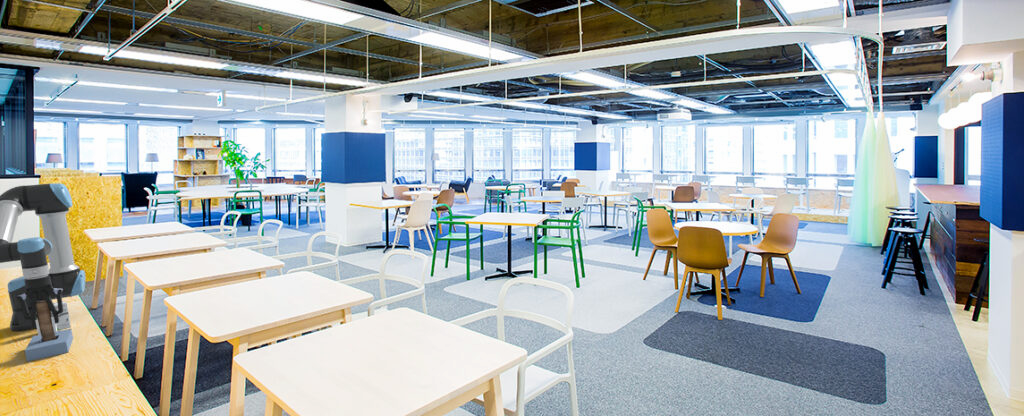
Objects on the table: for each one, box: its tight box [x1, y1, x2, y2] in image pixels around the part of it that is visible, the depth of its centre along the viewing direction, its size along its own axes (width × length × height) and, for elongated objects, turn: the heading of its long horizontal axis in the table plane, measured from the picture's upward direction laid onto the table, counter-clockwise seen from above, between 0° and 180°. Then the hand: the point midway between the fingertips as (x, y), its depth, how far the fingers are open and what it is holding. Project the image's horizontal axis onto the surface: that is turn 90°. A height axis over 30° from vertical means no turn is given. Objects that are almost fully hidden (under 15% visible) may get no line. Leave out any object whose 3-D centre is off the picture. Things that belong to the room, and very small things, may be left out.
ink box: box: [51, 300, 72, 331], centre depth 224 cm, size 9×5×12 cm, turn 147°
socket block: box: [24, 328, 74, 362], centre depth 202 cm, size 18×12×4 cm, turn 37°
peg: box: [36, 301, 56, 342], centre depth 201 cm, size 4×4×18 cm
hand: (47, 332), depth 201 cm, fingers closed on peg, 4 cm apart
